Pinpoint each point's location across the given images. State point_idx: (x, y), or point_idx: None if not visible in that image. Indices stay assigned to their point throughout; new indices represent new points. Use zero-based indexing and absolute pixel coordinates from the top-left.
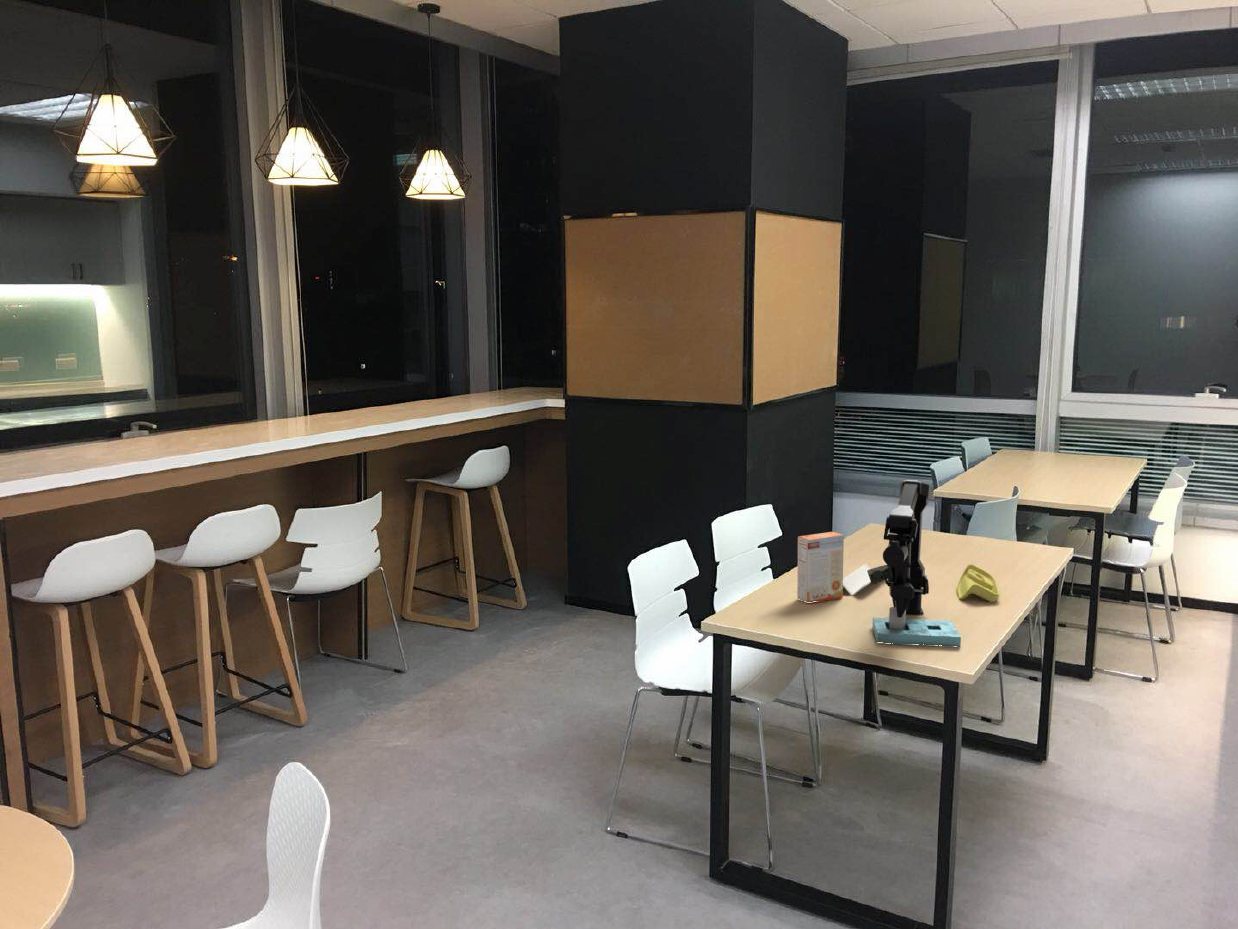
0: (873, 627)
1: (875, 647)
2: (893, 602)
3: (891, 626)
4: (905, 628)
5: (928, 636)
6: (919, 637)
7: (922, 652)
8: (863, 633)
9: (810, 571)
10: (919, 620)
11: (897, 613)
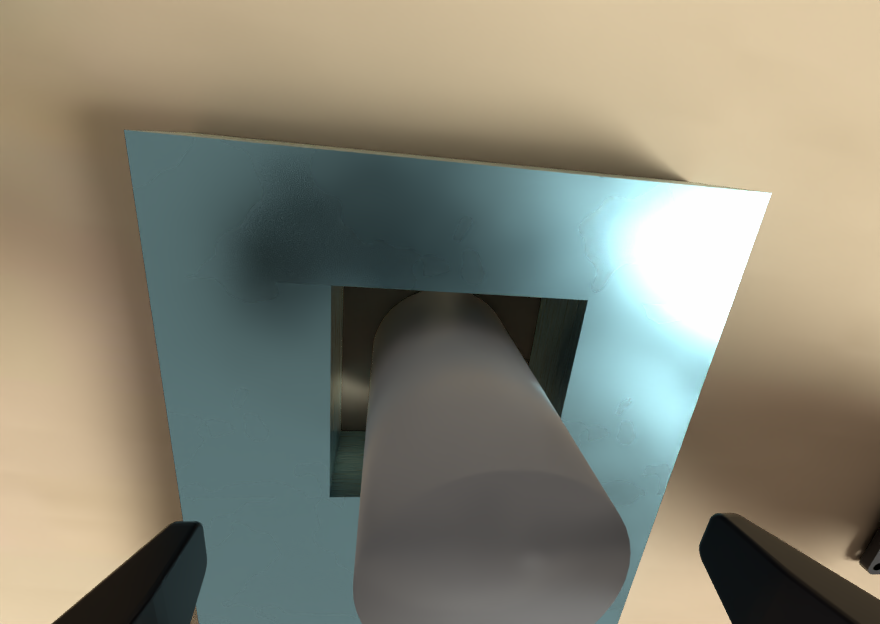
0: (615, 175)
1: (60, 87)
2: (783, 576)
3: (404, 350)
4: None
5: (200, 603)
6: None
7: (64, 482)
8: (525, 42)
9: None
10: None
11: (101, 587)
